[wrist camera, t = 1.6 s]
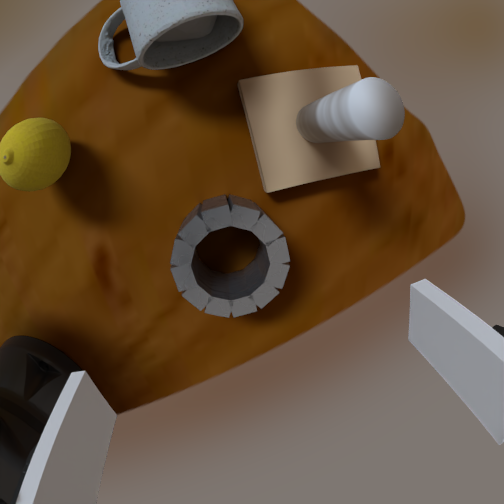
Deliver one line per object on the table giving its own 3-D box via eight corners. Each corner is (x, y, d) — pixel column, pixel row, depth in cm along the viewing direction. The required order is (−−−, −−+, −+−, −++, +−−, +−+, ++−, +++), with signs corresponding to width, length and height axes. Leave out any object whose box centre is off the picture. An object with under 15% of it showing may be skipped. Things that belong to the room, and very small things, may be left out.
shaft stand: (264, 190, 24) (303, 219, 14) (237, 84, 21) (256, 32, 10) (371, 166, 24) (458, 180, 14) (349, 69, 21) (426, 32, 11)
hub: (195, 297, 26) (193, 327, 21) (166, 211, 23) (155, 225, 19) (283, 273, 26) (298, 299, 22) (262, 184, 24) (275, 192, 19)
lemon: (28, 174, 20) (-27, 186, 13) (46, 115, 19) (-8, 107, 12) (74, 192, 22) (23, 211, 14) (94, 130, 20) (46, 123, 13)
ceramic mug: (206, -21, 17) (203, -71, 10) (241, 45, 20) (251, 4, 13) (94, 28, 17) (57, -6, 10) (120, 98, 20) (81, 78, 13)
